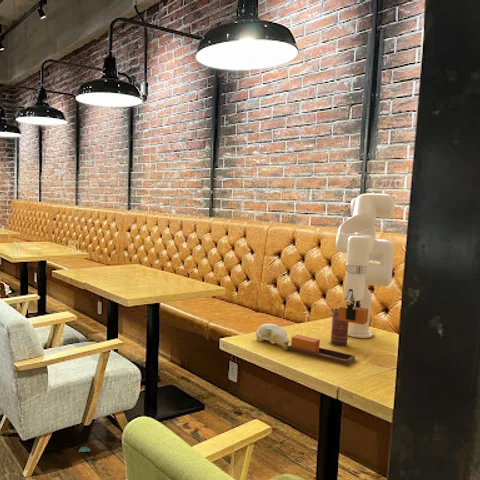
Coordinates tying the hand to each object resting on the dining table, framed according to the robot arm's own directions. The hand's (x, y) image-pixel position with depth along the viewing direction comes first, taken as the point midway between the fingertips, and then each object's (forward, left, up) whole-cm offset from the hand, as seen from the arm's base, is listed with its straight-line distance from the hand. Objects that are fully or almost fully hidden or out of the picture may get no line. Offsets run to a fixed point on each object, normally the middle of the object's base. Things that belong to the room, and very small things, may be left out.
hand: (352, 317), depth 179 cm
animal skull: (+9, -27, -15) cm, 32 cm away
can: (-11, -8, -15) cm, 20 cm away
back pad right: (0, 0, -1) cm, 1 cm away
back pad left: (+9, -14, -14) cm, 22 cm away
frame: (+9, -8, -15) cm, 19 cm away
